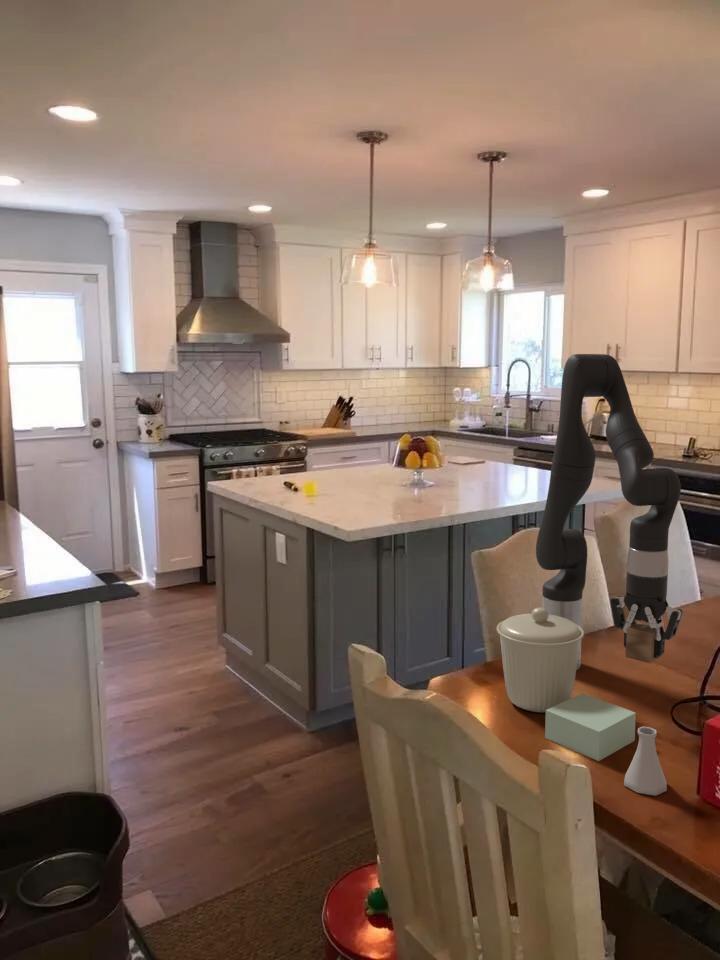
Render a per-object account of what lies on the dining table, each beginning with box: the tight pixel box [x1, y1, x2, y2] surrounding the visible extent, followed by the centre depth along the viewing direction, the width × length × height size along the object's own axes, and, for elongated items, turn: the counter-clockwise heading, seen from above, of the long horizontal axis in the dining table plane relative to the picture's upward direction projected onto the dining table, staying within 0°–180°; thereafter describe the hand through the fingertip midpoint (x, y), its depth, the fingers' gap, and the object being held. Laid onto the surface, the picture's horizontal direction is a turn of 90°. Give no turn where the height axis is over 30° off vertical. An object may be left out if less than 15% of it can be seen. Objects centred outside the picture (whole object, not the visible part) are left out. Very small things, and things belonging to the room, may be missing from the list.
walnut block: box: [625, 621, 662, 664], centre depth 154 cm, size 5×5×6 cm
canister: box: [496, 607, 585, 714], centre depth 166 cm, size 18×18×21 cm
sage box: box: [544, 692, 637, 762], centre depth 151 cm, size 12×12×6 cm
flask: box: [623, 726, 668, 797], centre depth 134 cm, size 7×7×10 cm
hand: (643, 653), depth 154 cm, fingers closed on walnut block, 5 cm apart
